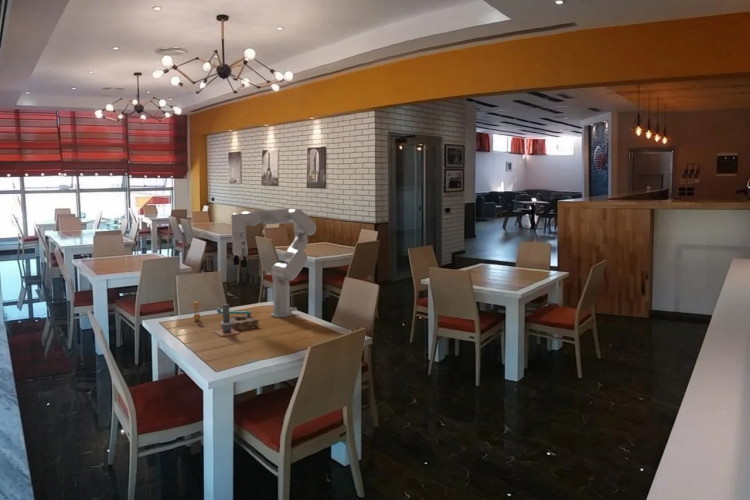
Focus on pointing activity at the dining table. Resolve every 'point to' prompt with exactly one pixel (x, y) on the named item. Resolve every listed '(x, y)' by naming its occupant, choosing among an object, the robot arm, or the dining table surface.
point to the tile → (226, 333)
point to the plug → (226, 319)
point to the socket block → (243, 322)
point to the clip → (233, 312)
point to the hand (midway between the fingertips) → (240, 265)
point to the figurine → (196, 316)
